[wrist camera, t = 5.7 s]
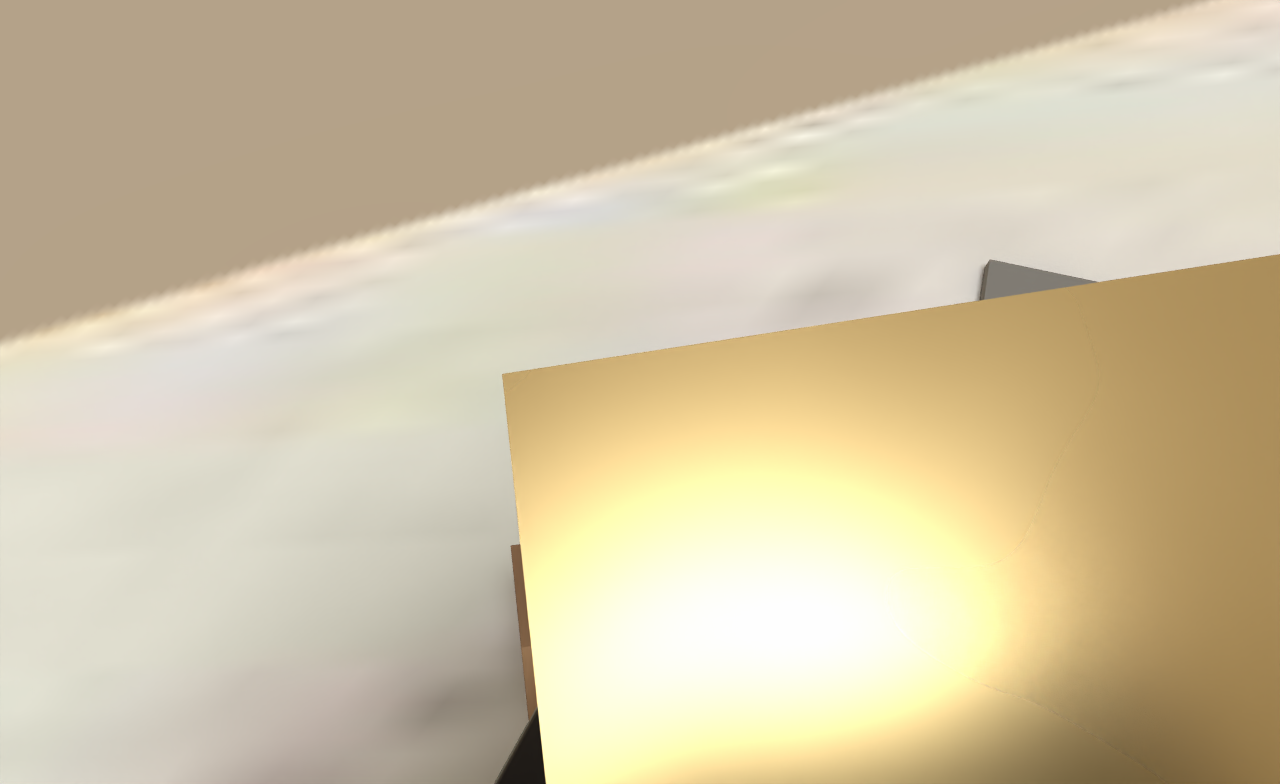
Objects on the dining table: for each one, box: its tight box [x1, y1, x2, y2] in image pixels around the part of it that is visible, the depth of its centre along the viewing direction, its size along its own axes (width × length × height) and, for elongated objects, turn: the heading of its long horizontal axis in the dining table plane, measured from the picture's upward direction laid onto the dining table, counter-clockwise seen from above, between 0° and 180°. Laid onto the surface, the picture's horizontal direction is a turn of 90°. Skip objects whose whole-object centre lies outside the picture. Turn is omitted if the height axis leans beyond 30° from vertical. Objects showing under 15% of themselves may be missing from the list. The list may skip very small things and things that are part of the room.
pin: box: [502, 254, 1280, 784], centre depth 9 cm, size 4×4×13 cm
